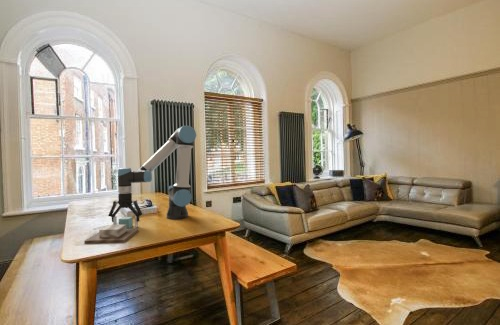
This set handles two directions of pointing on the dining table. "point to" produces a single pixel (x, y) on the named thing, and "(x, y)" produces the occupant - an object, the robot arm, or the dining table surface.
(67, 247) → the dining table surface
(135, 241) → the dining table surface
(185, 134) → the robot arm
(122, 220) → the cube
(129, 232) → the base
